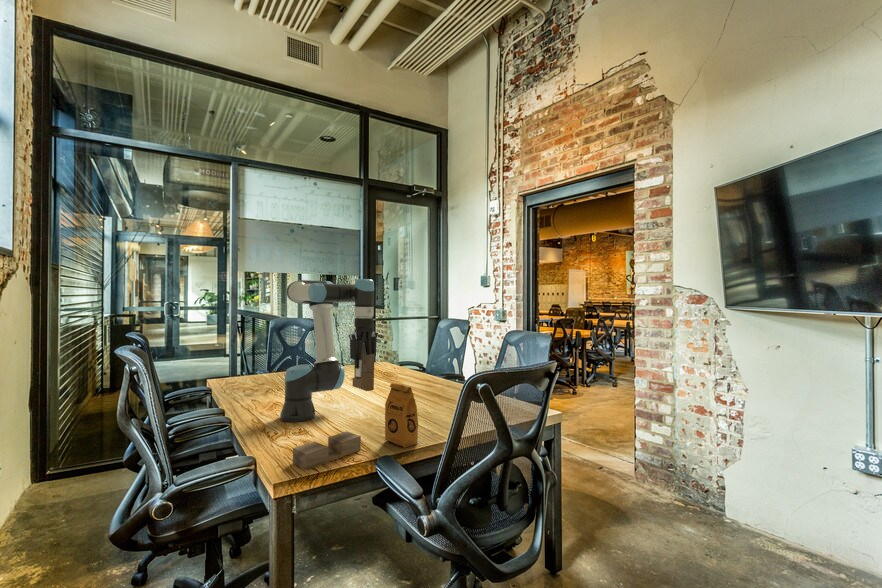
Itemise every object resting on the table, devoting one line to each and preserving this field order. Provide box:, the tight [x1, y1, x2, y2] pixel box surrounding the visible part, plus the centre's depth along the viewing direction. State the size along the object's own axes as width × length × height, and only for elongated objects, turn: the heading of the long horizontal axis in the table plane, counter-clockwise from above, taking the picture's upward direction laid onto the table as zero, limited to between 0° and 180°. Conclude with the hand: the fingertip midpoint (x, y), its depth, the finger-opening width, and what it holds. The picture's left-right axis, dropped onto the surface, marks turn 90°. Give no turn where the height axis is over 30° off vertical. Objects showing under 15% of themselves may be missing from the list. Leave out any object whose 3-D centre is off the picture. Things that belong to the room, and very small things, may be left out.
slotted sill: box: [292, 431, 362, 471], centre depth 139 cm, size 8×22×5 cm, turn 141°
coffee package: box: [384, 382, 419, 449], centre depth 153 cm, size 10×12×22 cm
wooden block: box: [352, 343, 375, 392], centre depth 161 cm, size 4×11×18 cm, turn 42°
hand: (363, 375), depth 161 cm, fingers closed on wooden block, 4 cm apart
